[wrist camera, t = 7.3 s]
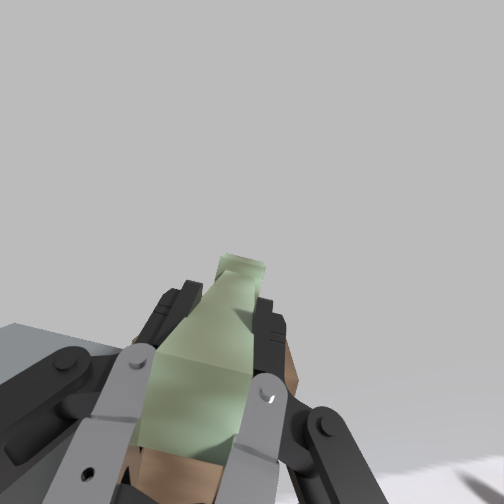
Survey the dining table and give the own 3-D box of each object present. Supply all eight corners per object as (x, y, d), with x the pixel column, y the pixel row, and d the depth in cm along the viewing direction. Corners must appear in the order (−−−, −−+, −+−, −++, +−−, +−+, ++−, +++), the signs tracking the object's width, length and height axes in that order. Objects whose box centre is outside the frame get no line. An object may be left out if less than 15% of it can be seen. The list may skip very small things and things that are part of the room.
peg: (255, 295, 29) (263, 262, 29) (255, 473, 7) (288, 344, 7) (218, 286, 29) (226, 253, 29) (108, 438, 7) (137, 308, 7)
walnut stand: (211, 581, 32) (278, 314, 30) (177, 845, 18) (298, 380, 16) (126, 561, 32) (188, 292, 30) (28, 809, 18) (132, 340, 16)
